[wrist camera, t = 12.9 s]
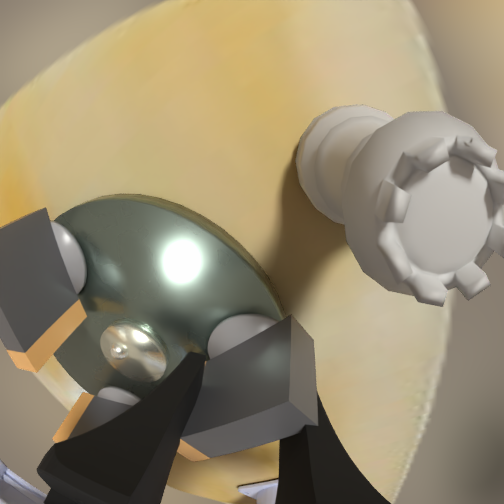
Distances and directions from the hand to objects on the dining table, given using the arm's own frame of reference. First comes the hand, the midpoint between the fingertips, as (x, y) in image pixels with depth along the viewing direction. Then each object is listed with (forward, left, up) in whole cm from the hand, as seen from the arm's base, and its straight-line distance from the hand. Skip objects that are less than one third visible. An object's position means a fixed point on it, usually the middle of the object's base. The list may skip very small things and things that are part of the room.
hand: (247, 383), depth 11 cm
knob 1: (+9, +5, -2) cm, 10 cm away
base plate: (+3, +5, -3) cm, 7 cm away
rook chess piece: (+4, -8, -4) cm, 9 cm away
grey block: (0, 0, -2) cm, 2 cm away
